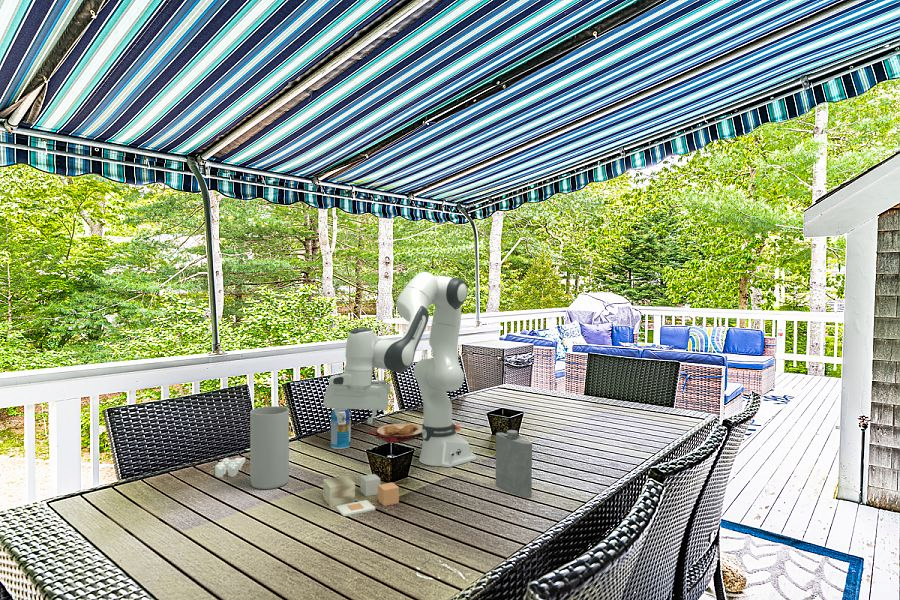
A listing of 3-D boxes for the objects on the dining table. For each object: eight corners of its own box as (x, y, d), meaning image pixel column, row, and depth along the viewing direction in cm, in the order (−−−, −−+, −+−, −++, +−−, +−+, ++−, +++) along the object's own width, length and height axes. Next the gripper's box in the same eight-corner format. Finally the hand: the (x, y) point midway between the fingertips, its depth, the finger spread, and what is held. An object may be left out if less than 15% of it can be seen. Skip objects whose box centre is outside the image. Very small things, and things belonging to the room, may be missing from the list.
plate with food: (439, 435, 254) (440, 427, 254) (392, 444, 236) (392, 436, 236) (407, 425, 272) (407, 418, 272) (361, 433, 255) (361, 425, 255)
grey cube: (374, 488, 185) (374, 473, 185) (380, 493, 181) (380, 478, 181) (360, 491, 183) (360, 476, 183) (366, 496, 179) (366, 481, 178)
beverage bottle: (326, 448, 230) (326, 400, 229) (337, 442, 237) (337, 396, 237) (343, 450, 226) (343, 402, 226) (354, 445, 234) (355, 398, 234)
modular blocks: (234, 477, 196) (234, 466, 195) (214, 478, 195) (214, 467, 195) (247, 459, 215) (248, 449, 215) (229, 460, 214) (229, 450, 214)
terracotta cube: (392, 497, 178) (392, 482, 178) (398, 503, 174) (398, 487, 173) (377, 500, 175) (377, 485, 175) (384, 506, 171) (384, 490, 171)
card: (366, 501, 174) (366, 499, 174) (375, 509, 168) (375, 507, 168) (335, 508, 169) (335, 505, 169) (343, 516, 163) (343, 514, 163)
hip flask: (533, 496, 180) (534, 435, 179) (524, 499, 177) (525, 437, 177) (500, 482, 192) (501, 424, 192) (491, 484, 190) (492, 426, 189)
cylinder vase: (253, 492, 181) (253, 416, 180) (248, 480, 192) (247, 408, 191) (292, 486, 187) (292, 412, 186) (285, 474, 198) (285, 405, 197)
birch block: (347, 493, 181) (347, 475, 181) (355, 502, 174) (355, 483, 174) (323, 497, 177) (323, 479, 177) (329, 506, 170) (329, 487, 170)
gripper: (390, 379, 180) (387, 422, 179) (326, 376, 177) (322, 420, 176) (391, 381, 174) (388, 426, 173) (324, 378, 170) (321, 424, 170)
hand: (354, 423), depth 174 cm, fingers open, 8 cm apart
